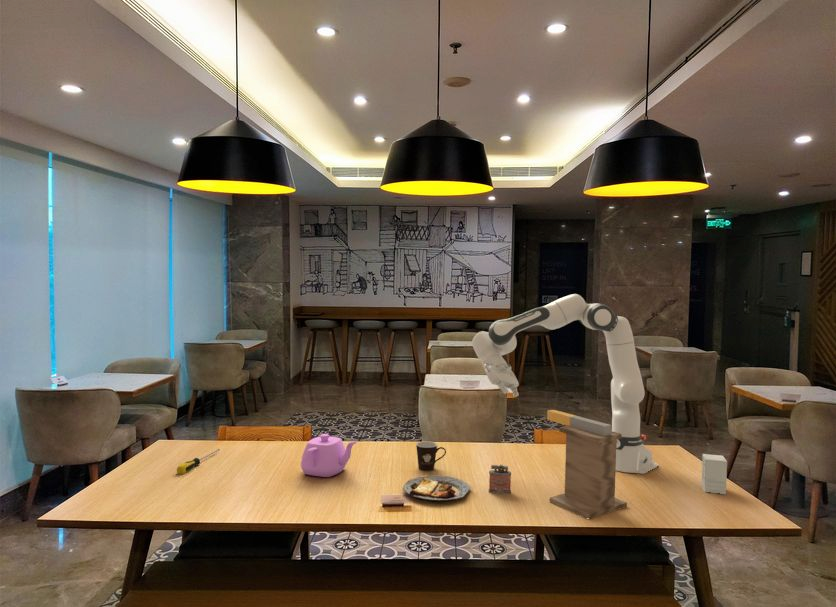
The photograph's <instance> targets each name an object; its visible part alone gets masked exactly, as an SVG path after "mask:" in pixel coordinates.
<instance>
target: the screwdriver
mask: <svg viewBox="0 0 836 607" xmlns="http://www.w3.org/2000/svg"><path fill="white" fill-rule="evenodd" d="M219 451H220V448H218V449H216V450H215V451H212V452H211V453H209V454H206V455H205V456H203V457H201V458H198V457H195V458H193V459H192V460H188V461H185V462H182V463H181V464H179V465H178V467H176V472H177V475H183V474H186V473H188V472H190V471H192V469H194V468H195V467H196V466H199V465H200V463H201V461H202V460H204V459H206V458H208V457H210V456H212V455H213V454H215V453H217V452H219Z"/></svg>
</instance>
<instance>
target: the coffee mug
mask: <svg viewBox="0 0 836 607" xmlns="http://www.w3.org/2000/svg"><path fill="white" fill-rule="evenodd" d="M415 447H416V454H417V456H416V457H417V467H418V470H419V471H422V472H423V471H424V472H430V471H434V470H435V465H436V463H437V462H438V461H440V460H441V459H443V458H444V456H446V454H447V450H446V448H444V447H441V446H440V447H438V443H436V442H433V441H429V440H428V441H419V442H417V443H416V444H415ZM441 449H442V450H443V451H444V453H443V454H442V456H440V457H438V458H437V459H436V456H437V452H438V451H439V450H441Z"/></svg>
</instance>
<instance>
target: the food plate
mask: <svg viewBox="0 0 836 607" xmlns="http://www.w3.org/2000/svg"><path fill="white" fill-rule="evenodd" d="M452 488H453V489H452ZM454 488H455V489H456V490H455V489H454ZM470 489H471V485H470V484H469V483H467V482H466V481H464V480H462V479H460V478H457V477H452V476H449V475H448V476H446V475H438V474H437V475H423V476H422V475H421V476H417V477H414V478H410V479H409V480H408V481H406V483H405V484H404V485H403V486H402V491H404V492H405V493H406V494H407V495H408V496H410V497H412V498H418V499H422V500H427V501H434V502H435V501H436V502H439V501H446V502H447V501H449V502H450V501H455V500H458V499H462V498H463V497H465V496H466V494H467V493H468V492H469V491H470Z"/></svg>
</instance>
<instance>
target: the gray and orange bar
mask: <svg viewBox="0 0 836 607" xmlns="http://www.w3.org/2000/svg"><path fill="white" fill-rule="evenodd" d="M546 414H547V417H546V420H547V421H550V422H555V423H558V424H561V425H564V426H570V427H574V428H577V429H581V430H584V431H588V432H591V433H594V434H598V435H601V436H609V435H611V431H612V424H608V423H605V422H602V421H597V420H593V419H590V418H586V417H583V416H579V415H576V414H571V413H568V412H564V411H560V410H556V409H550V410H549V409H548V410H546Z"/></svg>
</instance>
